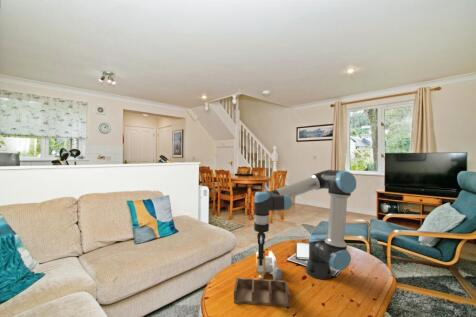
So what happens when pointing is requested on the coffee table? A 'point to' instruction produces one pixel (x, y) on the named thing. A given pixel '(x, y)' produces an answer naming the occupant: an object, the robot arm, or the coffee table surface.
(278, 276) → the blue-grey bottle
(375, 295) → the coffee table surface
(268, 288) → the brown compartment tray
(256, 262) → the yellow knobbed cylinder
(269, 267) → the cable organizer
